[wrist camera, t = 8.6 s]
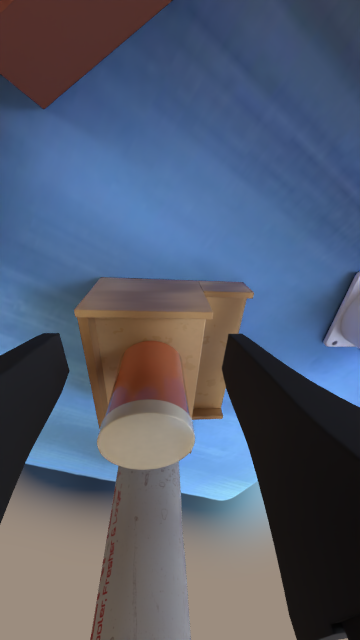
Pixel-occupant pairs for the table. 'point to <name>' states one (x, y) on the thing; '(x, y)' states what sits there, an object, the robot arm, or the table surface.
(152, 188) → the table surface
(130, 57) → the table surface
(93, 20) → the hanging shelf
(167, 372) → the spice jar
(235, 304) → the spice rack
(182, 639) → the thermos bottle
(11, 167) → the table surface
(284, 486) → the robot arm
